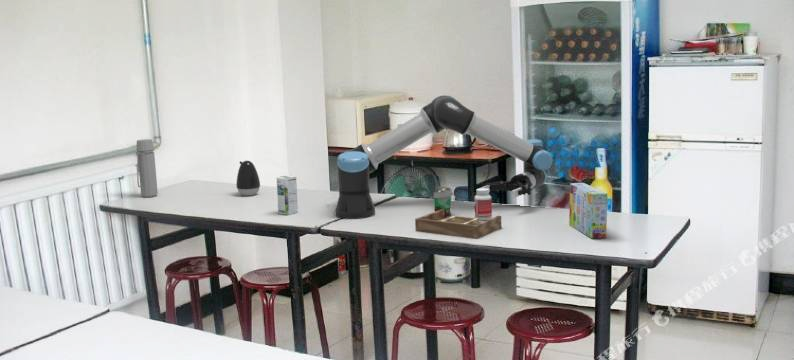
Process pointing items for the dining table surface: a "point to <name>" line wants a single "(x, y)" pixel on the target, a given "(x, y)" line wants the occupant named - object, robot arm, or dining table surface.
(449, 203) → the food container
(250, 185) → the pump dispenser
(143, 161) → the water bottle
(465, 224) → the walled tray
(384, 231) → the dining table surface
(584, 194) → the snack box
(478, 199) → the pill bottle
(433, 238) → the dining table surface
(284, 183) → the syrup box
